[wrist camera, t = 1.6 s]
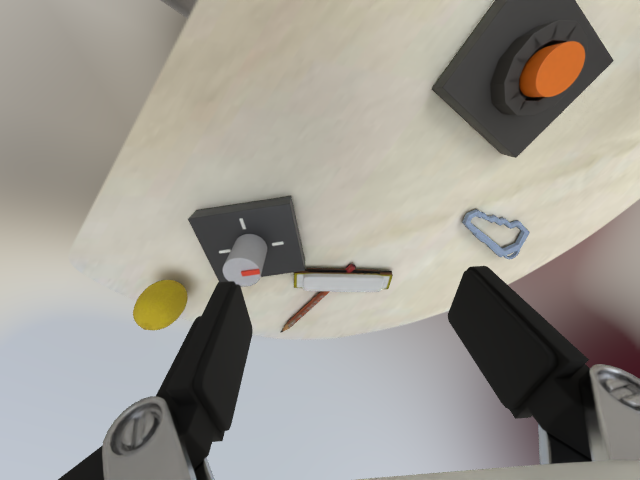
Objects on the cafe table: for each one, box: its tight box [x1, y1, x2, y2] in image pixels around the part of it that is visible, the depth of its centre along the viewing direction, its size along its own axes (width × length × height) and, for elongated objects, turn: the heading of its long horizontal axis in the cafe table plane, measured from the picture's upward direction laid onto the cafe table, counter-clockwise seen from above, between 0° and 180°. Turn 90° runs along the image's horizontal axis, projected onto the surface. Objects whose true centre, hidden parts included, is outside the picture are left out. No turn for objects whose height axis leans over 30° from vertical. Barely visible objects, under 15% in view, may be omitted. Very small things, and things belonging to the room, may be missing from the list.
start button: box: [519, 41, 585, 97], centre depth 19 cm, size 4×4×2 cm
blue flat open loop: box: [462, 209, 530, 259], centre depth 32 cm, size 12×1×5 cm
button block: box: [432, 0, 613, 158], centre depth 21 cm, size 12×10×4 cm
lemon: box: [133, 280, 187, 330], centre depth 31 cm, size 6×6×8 cm
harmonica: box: [294, 268, 393, 292], centre depth 34 cm, size 15×3×2 cm, turn 86°
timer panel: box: [188, 196, 305, 282], centre depth 30 cm, size 12×10×3 cm
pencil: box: [281, 263, 356, 332], centre depth 37 cm, size 19×1×1 cm, turn 140°
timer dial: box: [223, 234, 267, 287], centre depth 26 cm, size 4×4×5 cm
